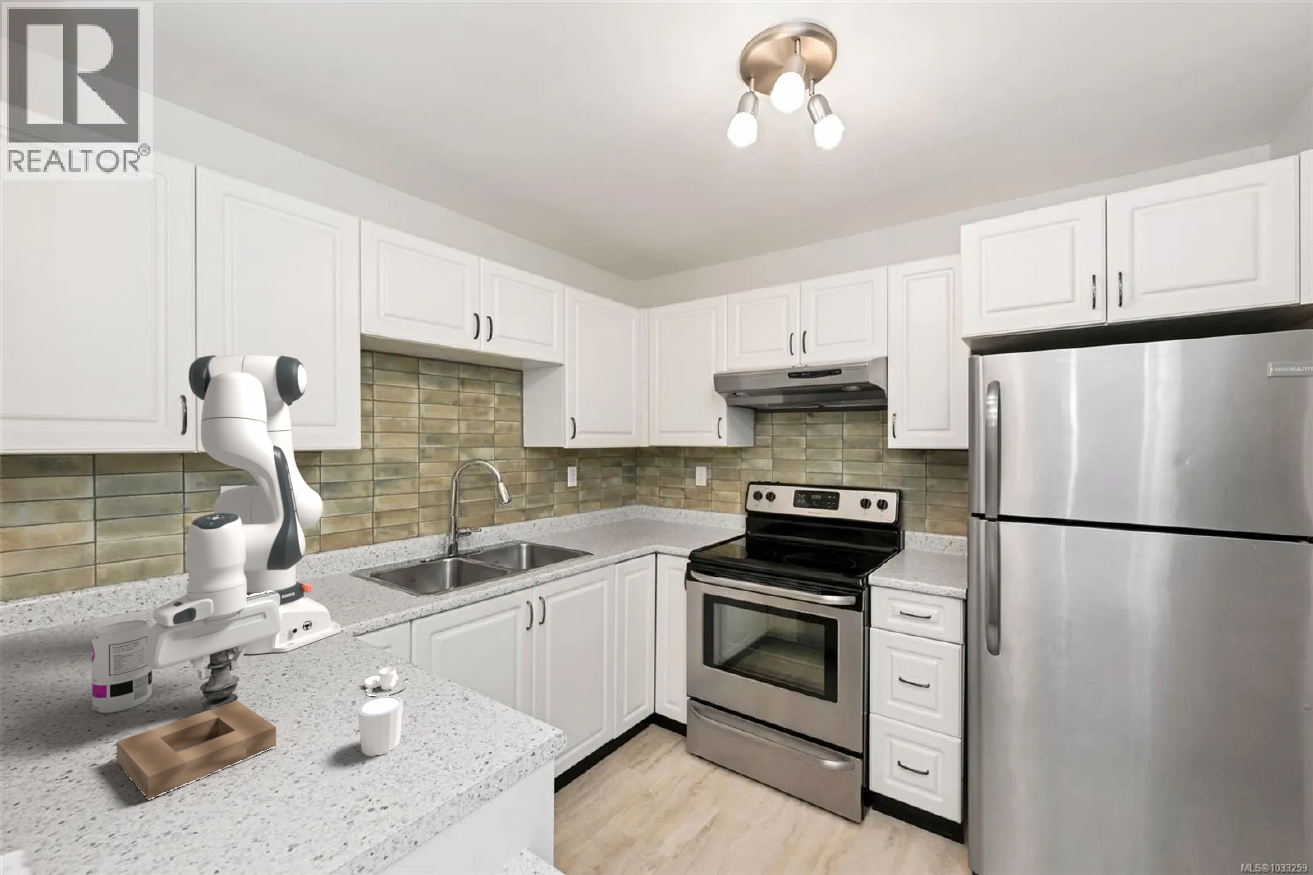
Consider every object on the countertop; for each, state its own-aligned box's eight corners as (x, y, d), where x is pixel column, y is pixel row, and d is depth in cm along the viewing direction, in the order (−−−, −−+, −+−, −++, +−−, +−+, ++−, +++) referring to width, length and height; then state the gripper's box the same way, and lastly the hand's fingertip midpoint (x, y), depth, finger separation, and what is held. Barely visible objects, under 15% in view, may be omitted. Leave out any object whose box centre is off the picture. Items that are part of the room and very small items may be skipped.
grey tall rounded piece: (218, 711, 101) (217, 646, 100) (191, 708, 102) (190, 644, 101) (247, 695, 106) (246, 634, 106) (221, 692, 107) (220, 632, 107)
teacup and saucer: (358, 688, 113) (358, 669, 113) (398, 676, 119) (398, 657, 119) (372, 703, 107) (372, 683, 107) (414, 690, 113) (414, 670, 113)
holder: (237, 719, 100) (237, 700, 100) (276, 747, 91) (275, 726, 91) (116, 763, 87) (116, 741, 87) (148, 801, 78) (148, 777, 78)
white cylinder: (391, 730, 97) (391, 691, 97) (410, 745, 92) (410, 703, 92) (350, 748, 91) (350, 706, 91) (368, 764, 87) (368, 720, 87)
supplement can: (80, 717, 101) (80, 636, 101) (111, 696, 109) (111, 621, 109) (134, 711, 103) (134, 632, 103) (161, 691, 111) (160, 617, 111)
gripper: (272, 584, 114) (273, 650, 114) (141, 613, 97) (143, 690, 97) (286, 589, 110) (288, 657, 111) (153, 621, 93) (155, 700, 94)
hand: (219, 673), depth 104 cm, fingers closed on grey tall rounded piece, 3 cm apart
